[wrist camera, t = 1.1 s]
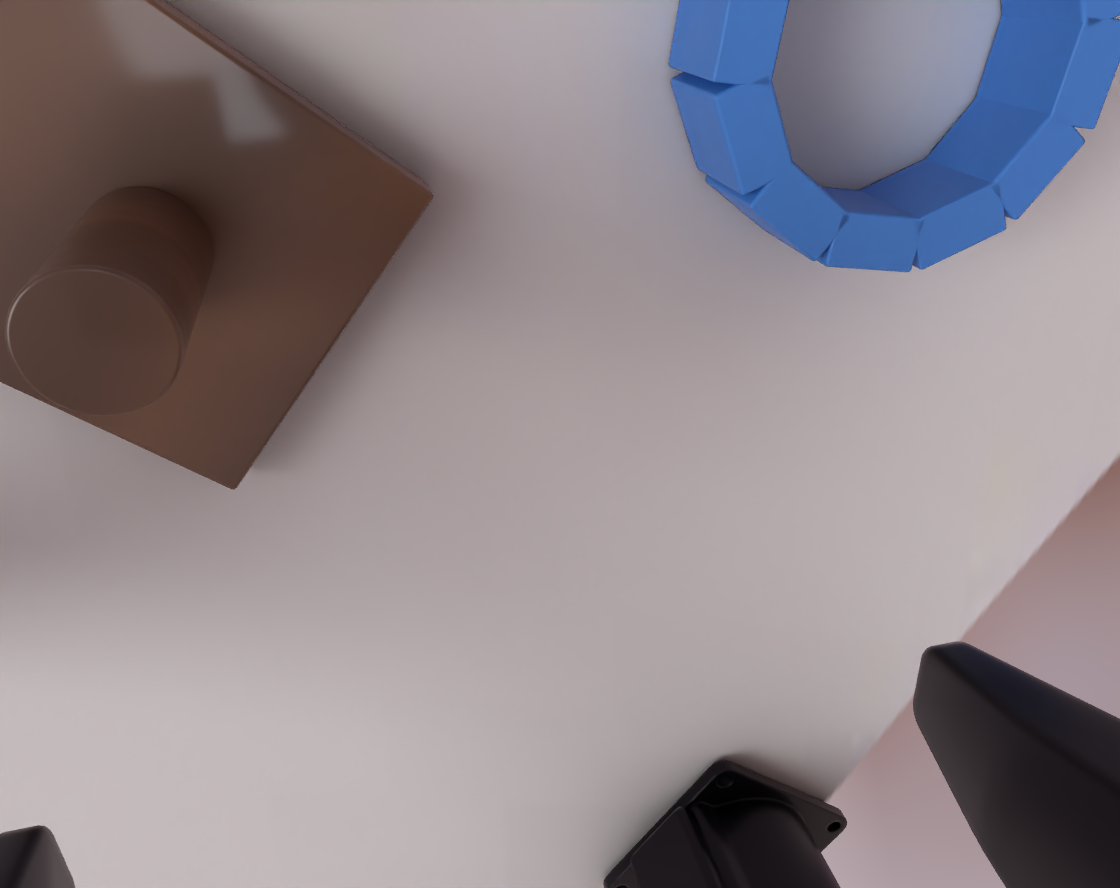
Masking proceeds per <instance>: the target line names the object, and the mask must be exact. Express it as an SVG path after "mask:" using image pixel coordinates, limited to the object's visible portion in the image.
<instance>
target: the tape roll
mask: <svg viewBox="0 0 1120 888" xmlns="http://www.w3.org/2000/svg"><path fill="white" fill-rule="evenodd" d="M788 3H789V0H680V1H679V7H678V13H677V19H676V25H675V30H674V36H673V42H672V48H671V54H670V59H669V66H670V67H672V68H675V69H678V70H681V71H683V72H684V73H682V74H680V75H678V76H676V77H674V78H673V79H672V80H671V86H672V89H673V92H674V95H675V99H676V102H677V105H678V108H679V111H680V114H681V118H682V121H683V124H684V127H685V130H686V134H687V137H688V140H689V143H690V146H691V149H692V153H693V156H694V159H695V162H696V165H697V168H698V169H699V170H701V171H702V172H704V173H706V174H707V176H706V178H705V180H706V182H707V183H708V184H709V185H711V186H712V187H713V188H714V189H715V190H717V191H718V192H719V193H720V194H721V195H723V196H724V197H725V198H726V199H727V200H729V201H730V202H731V203H732V204H734V205H735V206H736V207H737V208H738V209H740V210H741V211H742V212H743V213H744V214H746V215H747V216H748V217H749V218H750V219H752V220H753V221H754V222H755V223H756V224H758V225H759V226H760V227H761V228H762V229H764V230H765V231H767V232H768V233H770V234H771V235H773V236H774V237H776V238H778V239H779V240H781V241H782V242H784V243H785V244H787V245H789V246H790V247H792V248H793V249H795V250H796V251H798V252H800V253H801V254H803V255H804V256H806V257H807V258H809V259H811V260H812V261H816V260H817V261H819V262H820V263H822V264H824V265H825V266H827V267H840V268H855V269H869V270H883V271H898V272H910V270H911V267H912V265H913V266H915V267H917V268H919V269H925V268H927V267H929V266H931V265H933V264H935V263H937V262H939V261H941V260H943V259H945V258H947V257H950V256H952V255H954V254H956V253H958V252H960V251H962V250H964V249H966V248H968V247H970V246H972V245H975V244H977V243H979V242H981V241H983V240H985V239H987V238H989V237H991V236H993V235H995V234H997V233H1000V232H1002V231H1004V230H1005V229H1006V221H1005V216H1006V217H1009V218H1011V219H1015V220H1016V219H1018V218H1019V217H1020V216H1021V215H1022V214H1023V212H1024V211H1025V210H1026V209H1027V208H1028V207H1029V206H1030V204H1031V203H1032V202H1033V201H1034V200H1035V199H1036V198H1037V196H1038V195H1039V194H1040V193H1041V192H1042V191H1043V190H1044V188H1045V187H1046V186H1047V185H1048V184H1049V183H1050V182H1051V180H1052V179H1053V178H1054V177H1055V176H1056V175H1057V174H1058V173H1059V171H1060V170H1061V169H1062V168H1063V167H1064V166H1065V165H1066V163H1067V162H1068V161H1069V160H1070V159H1071V158H1072V157H1073V155H1074V154H1075V153H1076V152H1077V151H1078V150H1079V149H1080V147H1081V146H1082V145H1083V144H1084V142H1085V140H1084V138H1083V137H1082V136H1081V135H1080V134H1079V132H1078V131H1077V130H1076V129H1075V128H1074V127H1079V128H1087V129H1094V128H1095V126H1096V123H1097V120H1098V118H1099V115H1100V112H1101V110H1102V107H1103V104H1104V102H1105V99H1106V96H1107V94H1108V91H1109V88H1110V86H1111V83H1112V80H1113V78H1114V75H1115V72H1116V70H1117V67H1118V64H1119V62H1120V19H1114V18H1115V17H1117V16H1119V15H1120V0H1001V7H1002V16H1001V19H1000V22H999V26H998V29H997V32H996V35H995V38H994V42H993V45H992V48H991V51H990V54H989V57H988V61H987V64H986V67H985V70H984V73H983V77H982V80H981V83H980V86H979V89H978V92H977V96H976V99H975V100H974V101H973V102H972V103H971V105H970V106H969V107H968V108H967V109H966V111H965V112H964V113H963V114H962V116H961V117H960V118H959V119H958V120H957V122H956V123H955V124H954V125H953V126H952V128H951V129H950V130H949V131H948V132H947V134H946V135H945V136H944V137H943V138H942V140H941V141H940V142H939V143H938V144H937V146H936V147H935V148H934V149H933V150H932V152H931V153H930V154H929V155H928V157H927V158H926V159H924V160H922V161H920V162H918V163H916V164H914V165H911V166H909V167H907V168H905V169H903V170H901V171H899V172H897V173H895V174H893V175H891V176H889V177H886V178H884V179H882V180H880V181H878V182H876V183H874V184H872V185H870V186H868V187H866V188H864V189H861V190H859V191H858V190H848V189H837V188H827V187H820V186H819V185H818V184H817V183H816V182H814V181H813V180H812V179H811V178H810V177H809V176H808V175H807V174H806V173H804V172H803V171H802V170H801V169H800V168H799V167H798V166H797V165H796V164H794V163H793V162H792V158H791V154H790V150H789V146H788V142H787V138H786V134H785V130H784V126H783V123H782V119H781V115H780V111H779V107H778V103H777V99H776V95H775V91H774V87H773V84H772V76H773V71H774V67H775V62H776V58H777V53H778V49H779V44H780V40H781V35H782V31H783V26H784V21H785V17H786V12H787V8H788Z"/></svg>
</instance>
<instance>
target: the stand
mask: <svg viewBox="0 0 1120 888" xmlns="http://www.w3.org/2000/svg"><path fill="white" fill-rule="evenodd" d="M432 199H433V194H432V192H431V189H430V187H429V185H428V184H427V183H426V182H424V181H423V180H422V179H420V178H419V177H417V176H416V175H414V174H413V173H411V172H410V171H409V170H407V169H406V168H404V167H403V166H401V165H400V164H398V163H397V162H396V161H394V160H393V159H391V158H390V157H388V156H387V155H386V154H384V153H383V152H381V151H380V150H378V149H377V148H375V147H374V146H373V145H371V144H370V143H368V142H367V141H365V140H364V139H363V138H361V137H360V136H358V135H357V134H355V133H354V132H352V131H351V130H350V129H348V128H347V127H345V126H344V125H342V124H341V123H339V122H338V121H337V120H335V119H334V118H332V117H331V116H329V115H328V114H327V113H325V112H324V111H322V110H321V109H319V108H318V107H316V106H315V105H314V104H312V103H311V102H309V101H308V100H306V99H305V98H304V97H302V96H301V95H299V94H298V93H296V92H295V91H293V90H292V89H291V88H289V87H288V86H286V85H285V84H283V83H282V82H280V81H279V80H278V79H276V78H275V77H273V76H272V75H270V74H269V73H268V72H266V71H265V70H263V69H262V68H260V67H259V66H257V65H256V64H255V63H253V62H252V61H250V60H249V59H247V58H246V57H245V56H243V55H242V54H240V53H239V52H237V51H236V50H234V49H233V48H232V47H230V46H229V45H227V44H226V43H224V42H223V41H221V40H220V39H219V38H217V37H216V36H214V35H213V34H211V33H210V32H209V31H207V30H206V29H204V28H203V27H201V26H200V25H198V24H197V23H196V22H194V21H193V20H191V19H190V18H188V17H187V16H186V15H184V14H183V13H181V12H180V11H178V10H177V9H175V8H174V7H173V6H171V5H170V4H168V3H167V2H165V1H164V0H0V382H2V383H4V384H6V385H8V386H10V387H13V388H15V389H17V390H19V391H21V392H23V393H26V394H28V395H30V396H32V397H34V398H36V399H38V400H41V401H43V402H45V403H47V404H49V405H51V406H54V407H56V408H58V409H60V410H62V411H64V412H66V413H69V414H71V415H73V416H75V417H77V418H79V419H82V420H84V421H86V422H88V423H90V424H92V425H94V426H97V427H99V428H101V429H103V430H105V431H107V432H110V433H112V434H114V435H116V436H118V437H120V438H122V439H125V440H127V441H129V442H131V443H133V444H135V445H138V446H140V447H142V448H144V449H146V450H148V451H151V452H153V453H155V454H157V455H159V456H161V457H163V458H166V459H168V460H170V461H172V462H174V463H176V464H179V465H181V466H183V467H185V468H187V469H189V470H191V471H194V472H196V473H198V474H200V475H202V476H204V477H207V478H209V479H211V480H213V481H215V482H217V483H219V484H222V485H224V486H226V487H228V488H230V489H235V488H237V487H238V485H239V484H240V482H241V481H242V479H243V478H244V476H245V475H246V473H247V472H248V470H249V469H250V467H251V466H252V465H253V463H254V462H255V460H256V459H257V457H258V456H259V454H260V453H261V451H262V450H263V448H264V447H265V445H266V444H267V442H268V441H269V439H270V438H271V436H272V435H273V434H274V432H275V431H276V429H277V428H278V426H279V425H280V423H281V422H282V420H283V419H284V417H285V416H286V414H287V413H288V411H289V410H290V408H291V407H292V405H293V404H294V403H295V401H296V400H297V398H298V397H299V395H300V394H301V392H302V391H303V389H304V388H305V386H306V385H307V383H308V382H309V380H310V379H311V377H312V376H313V374H314V373H315V372H316V370H317V369H318V367H319V366H320V364H321V363H322V361H323V360H324V358H325V357H326V355H327V354H328V352H329V351H330V349H331V348H332V346H333V345H334V343H335V342H336V341H337V339H338V338H339V336H340V335H341V333H342V332H343V330H344V329H345V327H346V326H347V324H348V323H349V321H350V320H351V318H352V317H353V315H354V314H355V312H356V311H357V310H358V308H359V307H360V305H361V304H362V302H363V301H364V299H365V298H366V296H367V295H368V293H369V292H370V290H371V289H372V287H373V286H374V284H375V283H376V281H377V280H378V279H379V277H380V276H381V274H382V273H383V271H384V270H385V268H386V267H387V265H388V264H389V262H390V261H391V259H392V258H393V256H394V255H395V253H396V252H397V250H398V249H399V248H400V246H401V245H402V243H403V242H404V240H405V239H406V237H407V236H408V234H409V233H410V231H411V230H412V228H413V227H414V225H415V224H416V222H417V221H418V219H419V218H420V217H421V215H422V214H423V212H424V211H425V209H426V208H427V206H428V205H429V203H430V202H431V200H432Z"/></svg>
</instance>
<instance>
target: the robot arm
mask: <svg viewBox="0 0 1120 888" xmlns="http://www.w3.org/2000/svg"><path fill="white" fill-rule="evenodd" d="M913 710H914V715H915V718H916V721H917V724H918V726H919V728H920V730H921V732H922V734H923V736H924V738H925V740H926V742H927V744H928V746H929V748H930V750H931V752H932V753H933V755H934V758H935V760H936V761H937V763H938V765H939V767H940V769H941V771H942V773H943V775H944V777H945V779H946V781H947V783H948V785H949V787H950V789H951V791H952V793H953V795H954V797H955V799H956V800H957V802H958V804H959V806H960V808H961V810H962V812H963V814H964V816H965V818H966V820H967V822H968V824H969V826H970V828H971V830H972V832H973V833H974V835H975V837H976V838H977V840H978V842H979V844H980V846H981V848H982V850H983V851H984V853H985V854H986V856H987V858H988V859H989V861H990V863H991V864H992V866H993V867H994V869H995V871H996V872H997V874H998V876H999V877H1000V879H1001V880H1002V882H1003V883H1004V885H1005V886H1006V888H1120V719H1119V718H1117V717H1115V716H1113V715H1111V714H1109V713H1107V712H1105V711H1102V710H1101V709H1099V708H1096V707H1095V706H1093V705H1090V704H1088V703H1086V702H1084V701H1082V700H1080V699H1078V698H1076V697H1074V696H1072V695H1070V694H1068V693H1066V692H1064V691H1062V690H1060V689H1058V688H1056V687H1054V686H1052V685H1050V684H1048V683H1046V682H1044V681H1042V680H1040V679H1038V678H1036V677H1034V676H1032V675H1030V674H1028V673H1026V672H1024V671H1022V670H1020V669H1018V668H1016V667H1014V666H1012V665H1010V664H1008V663H1006V662H1004V661H1002V660H1000V659H998V658H996V657H994V656H992V655H990V654H988V653H986V652H984V651H982V650H980V649H977V648H976V647H974V646H972V645H969V644H967V643H964V642H951V643H946V644H941V645H936V646H931V647H929V648H927V649H926V650H925V652H924V653H923V654H922V658H921V662H920V668H919V673H918V678H917V683H916V688H915V694H914V699H913ZM846 825H847V821H846V818H845V817H844V815H843V814H842V812H841V810H839V809H838V808H836V807H834V806H832V805H829V804H827V803H825V802H822V801H820V800H818V799H815V798H813V797H811V796H809V795H806V794H804V793H802V792H799V791H797V790H795V789H792V788H790V787H788V786H786V785H783V784H781V783H779V782H776V781H774V780H772V779H769V778H767V777H765V776H763V775H760V774H758V773H756V772H753V771H751V770H749V769H746V768H744V767H742V766H740V765H737V764H735V763H733V762H730V761H720V762H717V763H715V764H714V765H712V766H711V767H710V768H709V769H708V770H707V771H706V772H705V773H704V774H703V775H702V776H701V777H700V778H699V779H698V780H697V782H696V783H695V784H694V785H693V786H692V787H691V788H690V789H689V790H688V791H687V792H686V793H685V794H684V795H683V796H682V797H681V798H680V799H679V801H678V802H677V803H676V804H675V805H674V806H673V807H672V808H671V809H670V810H669V811H668V812H667V813H666V814H665V815H664V816H663V817H662V819H661V820H660V821H659V822H658V823H657V824H656V825H655V826H654V827H653V828H652V829H651V830H650V831H649V832H648V833H647V834H646V835H645V836H644V838H643V839H642V840H641V841H640V842H639V843H638V844H637V845H636V846H635V847H634V848H633V849H632V850H631V851H630V852H629V853H628V854H627V855H626V857H625V858H624V859H623V860H622V861H621V862H620V863H619V864H618V865H617V866H616V867H615V868H614V869H613V870H612V871H611V872H610V873H609V874H608V876H607V877H606V878H605V880H604V883H603V885H604V888H840V886H839V884H838V883H837V881H836V879H835V877H834V875H833V874H832V872H831V870H830V868H829V866H828V865H827V863H826V861H825V859H824V858H823V856H822V854H821V852H822V850H823V849H825V848H826V847H827V846H828V845H829V844H830V843H831V842H832V841H833V840H834V839H835V838H836V837H837V836H838V835H839V834H840V833H841V832H842V831H843V830H844V829H845V827H846ZM0 888H75V885H74V881H73V878H72V876H71V874H70V871H69V869H68V867H67V865H66V862H65V860H64V858H63V856H62V853H61V851H60V849H59V847H58V844H57V842H56V840H55V838H54V835H53V834H52V832H51V831H50V830H49V829H48V828H47V827H45V826H39V825H38V826H33V827H28V828H23V829H18V830H13V831H8V832H4V833H1V834H0Z"/></svg>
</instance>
